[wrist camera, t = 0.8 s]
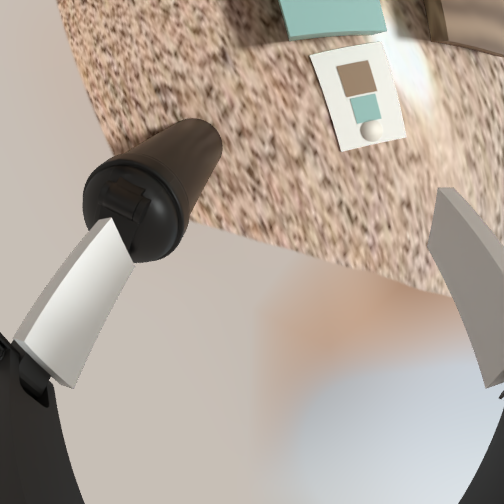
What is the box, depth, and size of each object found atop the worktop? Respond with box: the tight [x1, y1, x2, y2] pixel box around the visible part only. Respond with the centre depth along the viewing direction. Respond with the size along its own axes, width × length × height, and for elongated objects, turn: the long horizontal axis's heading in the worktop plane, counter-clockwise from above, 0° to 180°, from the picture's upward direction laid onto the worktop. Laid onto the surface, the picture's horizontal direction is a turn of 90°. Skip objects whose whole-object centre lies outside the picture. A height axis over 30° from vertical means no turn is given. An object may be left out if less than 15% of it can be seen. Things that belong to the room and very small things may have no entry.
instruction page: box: [310, 42, 406, 152], centre depth 31 cm, size 14×10×1 cm
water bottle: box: [83, 118, 222, 263], centre depth 29 cm, size 10×10×23 cm
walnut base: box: [423, 0, 504, 57], centre depth 17 cm, size 13×13×5 cm
